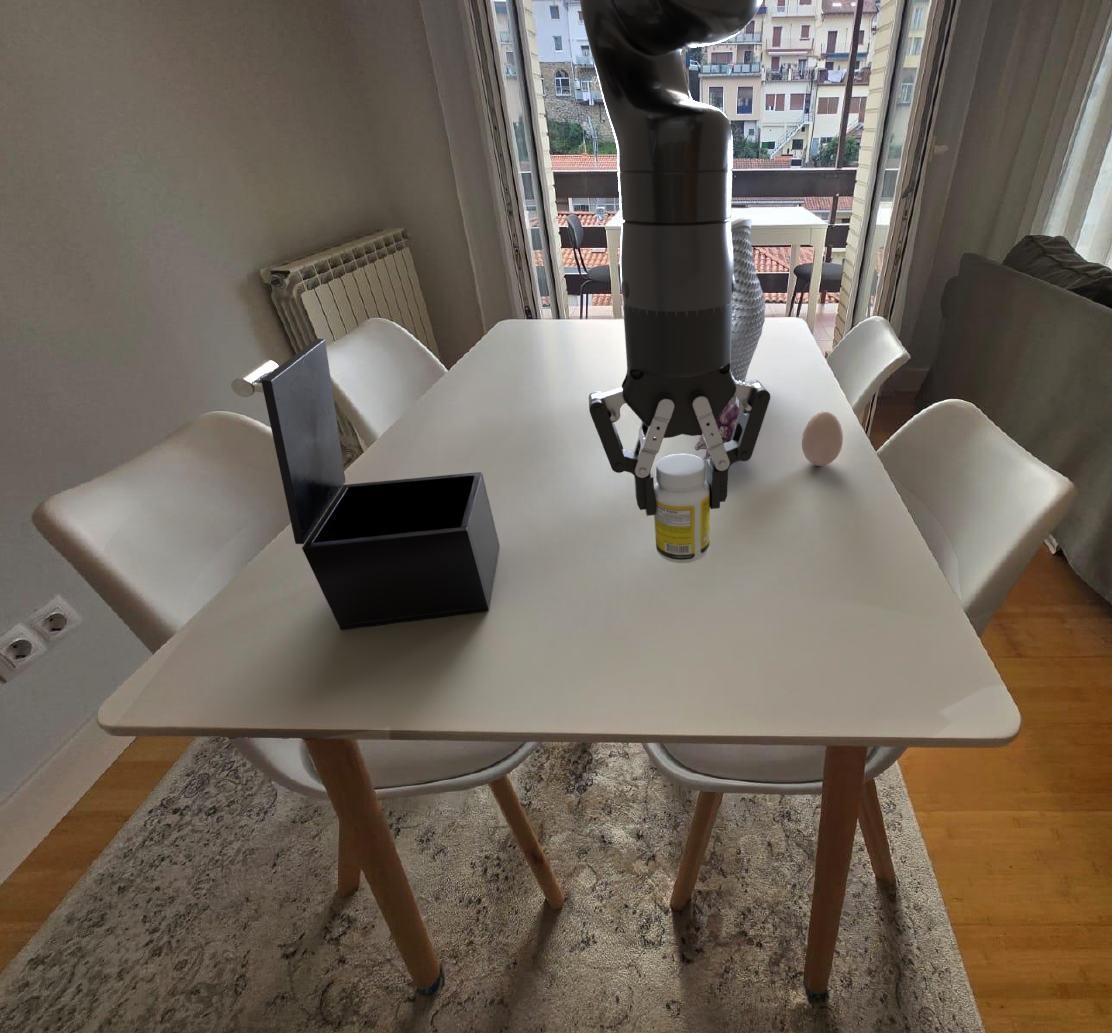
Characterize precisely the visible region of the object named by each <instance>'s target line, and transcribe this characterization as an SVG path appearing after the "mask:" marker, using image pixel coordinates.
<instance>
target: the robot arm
mask: <svg viewBox="0 0 1112 1033" xmlns="http://www.w3.org/2000/svg"><path fill="white" fill-rule="evenodd" d="M763 1H764V0H579V4H580V11H581V15H582V21H583V26H584V30H585V33H586V37H587V42H588V45H589V50H590V53H591V56H592V60H593V64H594V68H595V73H596V75H597V79H598V84H599V87H600V92H601V95H602V100H603V103H604V106H605V110H606V114H607V116H608V119H609V122H610V125H611V128H612V132H613V136H614V139H615V144H616V150H617V151H616V152H617V153H616V154H617V171H618V172H617V177H618V178H617V180H618V192H619V194H618V195H619V211H620V219H621V222H620V223H621V224H620V227H621V230H620V248H619V249H620V250H619V267H620V291H621V297H622V299H621V300H622V311H623V314H622V315H623V327H624V340H625V342H624V344H625V357H626V374H625V377H624V379H623V381H622V383H621V387H619V388H616V389H613V390H609V391H606V392H602V391H599V390H593V391H591V392H590V394H589V395H588V411H589V415H590V417H591V419H592V422H593V424H594V427H595V429H596V432H597V434H598V437H599V439H600V443H601V445H602V448H603V450H604V453H605V456H606V458H607V460H608V463H609V466H610V468H611V470H612V472H615V473H616V474H621V473H623V472H627V473H630V474H632V475H633V476H634V489H635V500H636V505H637V507H638V509H639V511H644V510H645V514H646V517H648V516H650V517H651V516H654V515H655V498H654V486H655V481H654V480H655V479H654V478H655V477H654V474H653V470H652V467H653V465H654V462H655V459H656V456H657V455H658V454H659V452H660V449H661V447H662V443H663V440H664V439H671V438H675V437H677V436H681V435H685V436H689V437H690V436H691V437H696V436H697V437H698V436H699V435H702V436H703V439H704V441H705V444H706V446H707V449H708V452H709V454H710V457H709V459H707V460H706V482H707V483H708V485H709V488H710V510H718V509H720V508H721V503H723V502H726V501H727V498H728V489H729V488H728V485H729V484H728V483H729V469H730V467H731V466H732V465H734V463H738V462H747V461H749V460H750V459H751V458H752V457H753V453H754V450H755V448H756V444H757V441H758V437H759V434H760V432H761V429H762V425H763V422H764V419H765V416H766V414H767V411H768V408H769V403H770V401H771V393H770V391H768V390H767V389H766V387H765V386H764V385H763V383H762V382H761V381H760V380H758V379H752V380H750V381H748V382H746V381H745V382H741V381H735V379H734V377H733V375H732V373H731V369H730V361H731V330H732V318H733V317H732V304H733V303H732V297H733V296H734V295H733V291H734V286H735V278H734V275H733V245H732V235H731V222H732V220H731V218H732V201H733V200H732V197H733V196H732V195H733V192H732V191H733V168H734V167H733V162H734V161H733V159H734V157H733V154H734V150H733V149H734V147H733V146H734V144H733V132H732V126H731V123H730V120H729V118H728V117H727V115H726V114H725V113H724V112H723V111H722V110H720V109H719V108H717V107H715V106H713V105H709V104H706V103H702V102H699V101H695V100H693V98H692V96H691V92H690V89H689V85H688V81H687V77H686V74H685V68H684V64H683V58H682V50H688V49H693V48H697V47H698V48H699V47H700V48H701V47H705V46H710V45H715V44H719V43H722V42H725V41H726V40H728V39H730V38H733V37H735V36H736V35H737V34H739V33H740V32H742V31H743V30H744V29H745V28H746V27H747V26H748V25H749V24H750V23H751V22H752V20H753V19H754V18H755V17H756V15H757V13H758V12H759V10H760V8H761V6H762V3H763ZM733 397H735V403H736V404H737V406H738V408H739V409H740V411H739V414H738V418H737V421H736V424H735V428H734V431H733V434H732V438H731V441H729V442H727V443H725V444H723V441H722V438H721V435H720V432H719V430H718V427H717V424H716V419H717V418H718V416H719V415H720V414H721V412H722V411H723V410H724V408H725V407H726V405H727V404H728V403H730V401H731V400H732V399H733ZM625 404H626V405H627V406H628V407H629V408H630V409H631V411H633V413H634V414H635V415H636V416H637V417H638V419H639V420H640V421H641V423H640V426H639V429H638V434H637V440H636V442H635V446H634V450H629V449H625V448H624V446H623V444H622V441H621V438H620V434H619V433H618V432H619V431H618V430H617V427H616V424H615V423H616V422H618V421H619V420H620V418H621V408H622V406H623V405H625ZM737 461H738V462H737Z"/></svg>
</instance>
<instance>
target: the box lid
mask: <svg viewBox="0 0 1112 1033" xmlns="http://www.w3.org/2000/svg"><path fill="white" fill-rule="evenodd" d="M326 343H327V342H326V339H325V338H316V339H314V340H313V341H312V342H310V343H309V344H308V345H306V346H305V347H304V348H302V349H301V350H300V351H298V352H296V354H294V355H293V356H292V357H290V358H288V359H287V360H286V361H285V362H283V363H282V364H281V365H278V363H276V362H275V361H273V360H271V359H263V360H261V361H259V362H258V363H256V364H254V365H253V366H252V367H250V368H249V369H248V370H246V371H245V372H243V373H242V374H240V375H239V376H237V377H236V378H235V379H233V380H232V382H231V384H230V386H231V387H230V388H231V389H232V391H233V392H234V393H235V395H237V396H240V397H242V398H249V397H251V396H253V395H254V394H255V393H263V395H264V396H263V397H264V402H265V405H266V410H267V415H268V421H269V425H270V430H271V433H272V439H273V443H274V449H275V453H276V457H277V462H278V468H279V473H280V478H281V482H282V487H283V492H284V496H285V501H286V505H287V510H288V516H289V520H290V525H291V529H292V534H293V539H294V543H295V545H304V544H305V542H306V541H307V539H308V538H309V536H310V535H311V533H312V532H313V530H314V529H315V527H316V526H317V524H318V523H319V521H320V520H321V518H322V517H323V515H324V514H325V512H326V511H327V509H328V508H329V506H330V505H331V503H332V502H333V500H334V499H335V497H336V496H337V494H338V493H339V491H340V490H341V488H342V487H343V485H345V483H346V481H347V480H346V475H345V474H346V473H345V468H344V461H343V455H342V454H343V453H342V448H341V447H342V446H341V439H340V432H339V426H338V419H337V413H336V412H337V411H336V405H335V399H334V392H333V384H332V379H331V371H330V364H329V357H328V352H327V351H328V350H327V344H326Z"/></svg>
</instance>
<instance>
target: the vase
mask: <svg viewBox="0 0 1112 1033" xmlns="http://www.w3.org/2000/svg"><path fill="white" fill-rule="evenodd" d="M751 230H752V219H751V218H747V217H740V218H737V219H735V220H733V221H731V235H732V245H733V275H734V278H735V286H734V291H733V297H732V330H731V361H730V369H731V373H732V375H733V377H734V379H735V381H741V382H746V380H747V375H748V370H749V368H750V365H751V363H752V359H753V357H754V354H755V353H756V349H757V347H758V343H759V341H760V338H761V336H762V333H763V329H764V328H763V327H764V324H765V321H766V316H765V315H766V314H765V313H766V302H765V297H764V295H765V294H764V291H763V289H762V286H761V282H760V279H759V277H758V274H757V269H756V265H755V263H754V256H753V248H752V242H751V241H752V239H751V238H752V236H751Z"/></svg>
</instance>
